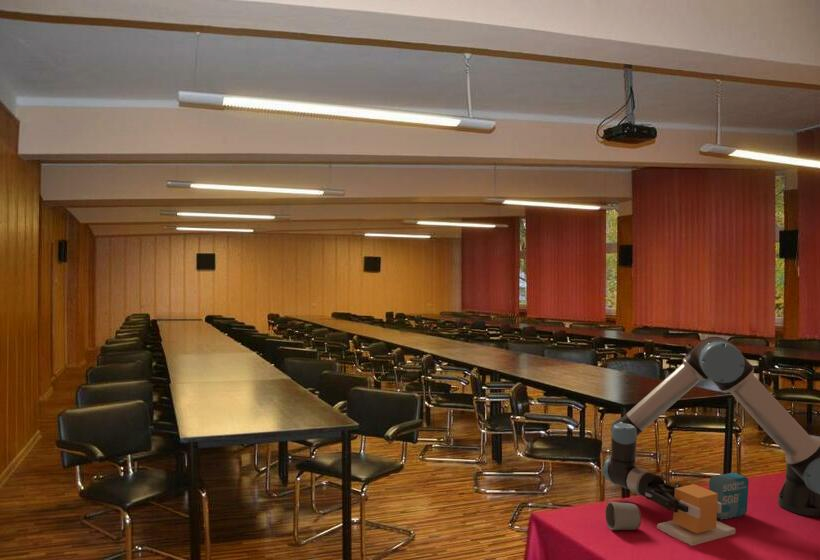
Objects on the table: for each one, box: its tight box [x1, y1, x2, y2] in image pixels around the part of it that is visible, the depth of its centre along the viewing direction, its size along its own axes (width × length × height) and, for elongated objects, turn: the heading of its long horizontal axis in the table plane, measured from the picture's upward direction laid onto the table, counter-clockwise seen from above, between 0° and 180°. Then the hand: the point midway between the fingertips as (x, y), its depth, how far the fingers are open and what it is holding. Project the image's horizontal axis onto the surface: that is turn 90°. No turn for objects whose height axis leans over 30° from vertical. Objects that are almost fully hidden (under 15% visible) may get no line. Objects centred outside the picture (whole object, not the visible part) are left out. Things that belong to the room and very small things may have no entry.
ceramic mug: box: [604, 501, 642, 531], centre depth 198 cm, size 11×8×8 cm
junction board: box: [656, 519, 736, 547], centre depth 195 cm, size 18×12×8 cm, turn 119°
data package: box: [708, 472, 750, 521], centre depth 208 cm, size 12×4×12 cm, turn 115°
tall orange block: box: [672, 483, 718, 533], centre depth 193 cm, size 8×8×10 cm
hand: (710, 510), depth 189 cm, fingers closed on tall orange block, 8 cm apart
